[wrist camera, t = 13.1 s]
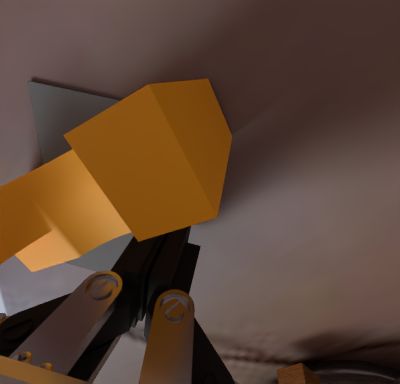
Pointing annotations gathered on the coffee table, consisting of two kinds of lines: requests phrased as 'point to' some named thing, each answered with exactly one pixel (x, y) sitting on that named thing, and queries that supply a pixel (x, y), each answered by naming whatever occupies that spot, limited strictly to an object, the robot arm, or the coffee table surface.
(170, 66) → the coffee table surface
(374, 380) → the sprocket
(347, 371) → the sprocket plinth
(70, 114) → the mat
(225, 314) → the coffee table surface
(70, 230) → the pipe clamp
